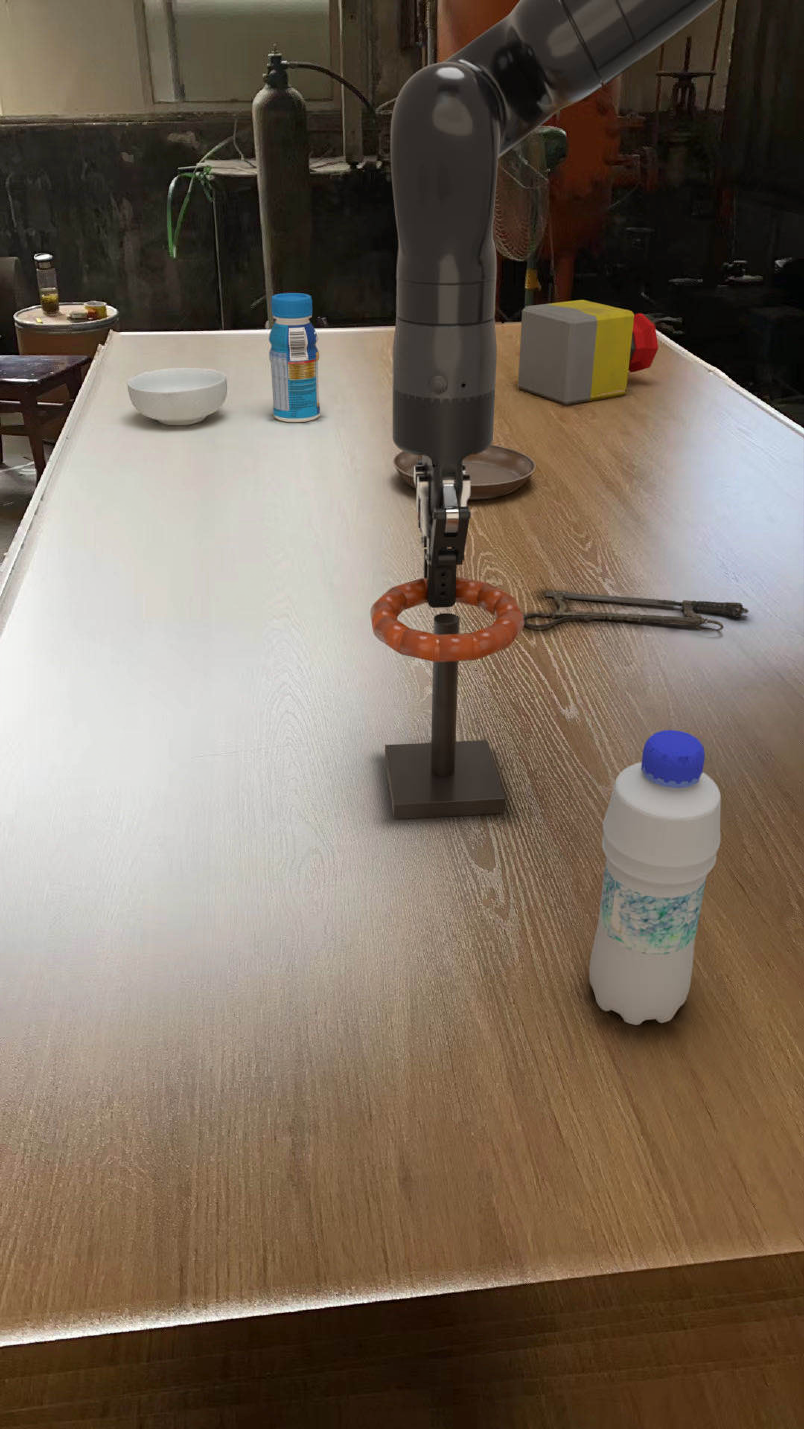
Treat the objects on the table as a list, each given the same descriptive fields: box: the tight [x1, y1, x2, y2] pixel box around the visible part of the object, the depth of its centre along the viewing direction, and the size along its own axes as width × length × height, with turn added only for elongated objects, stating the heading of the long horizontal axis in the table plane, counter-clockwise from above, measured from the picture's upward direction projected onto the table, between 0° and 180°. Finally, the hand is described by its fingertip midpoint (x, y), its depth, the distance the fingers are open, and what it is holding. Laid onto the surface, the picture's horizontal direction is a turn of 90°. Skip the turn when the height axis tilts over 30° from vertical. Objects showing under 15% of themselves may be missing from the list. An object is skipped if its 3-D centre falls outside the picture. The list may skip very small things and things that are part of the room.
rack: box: [384, 612, 506, 820], centre depth 88 cm, size 9×9×16 cm
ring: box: [369, 576, 525, 663], centre depth 84 cm, size 12×12×2 cm
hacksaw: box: [522, 590, 750, 632], centre depth 119 cm, size 24×10×2 cm, turn 76°
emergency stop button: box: [517, 299, 659, 406], centre depth 204 cm, size 15×24×15 cm, turn 122°
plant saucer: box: [392, 444, 537, 501], centre depth 159 cm, size 21×21×3 cm
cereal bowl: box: [126, 367, 228, 426], centre depth 187 cm, size 17×17×7 cm
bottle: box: [588, 729, 722, 1026], centre depth 65 cm, size 7×7×20 cm
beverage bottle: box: [268, 292, 321, 423], centre depth 185 cm, size 8×8×20 cm
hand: (439, 598), depth 88 cm, fingers closed on ring, 2 cm apart
